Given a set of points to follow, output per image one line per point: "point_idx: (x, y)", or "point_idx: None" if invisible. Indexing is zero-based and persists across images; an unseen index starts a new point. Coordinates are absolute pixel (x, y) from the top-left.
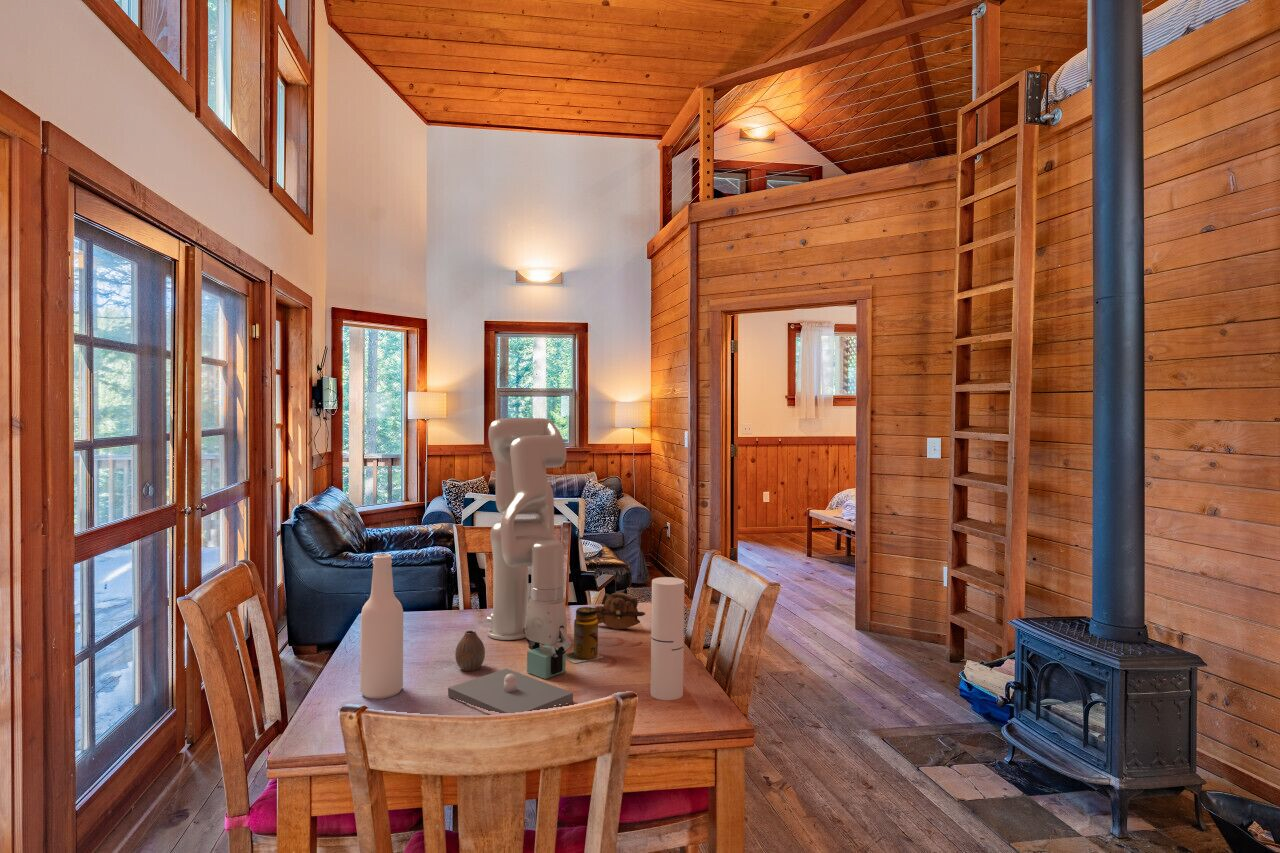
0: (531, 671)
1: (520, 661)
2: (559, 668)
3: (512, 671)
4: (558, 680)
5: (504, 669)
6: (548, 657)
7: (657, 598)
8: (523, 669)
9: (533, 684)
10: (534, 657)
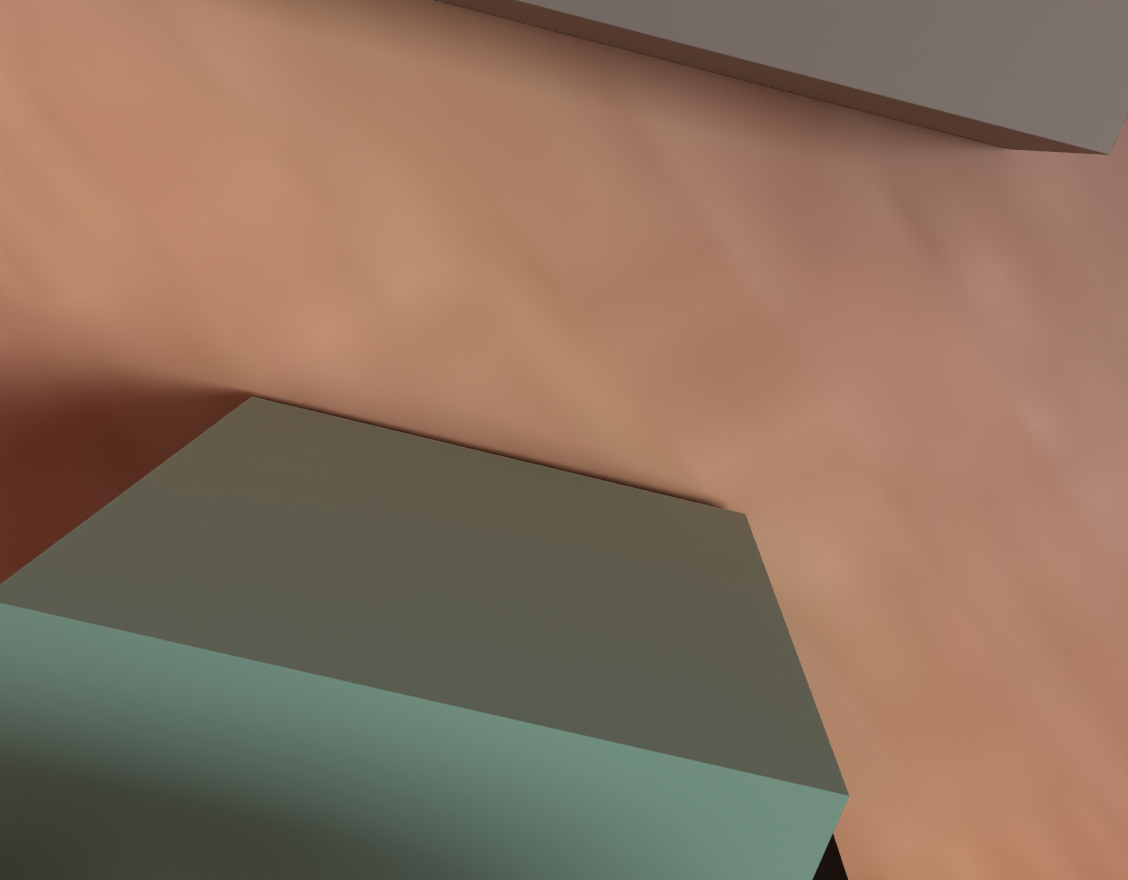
0: (624, 502)
1: (1123, 868)
2: None
3: (844, 38)
4: (55, 471)
5: (1123, 65)
6: (5, 686)
7: None
8: (894, 619)
9: None
10: (513, 645)
